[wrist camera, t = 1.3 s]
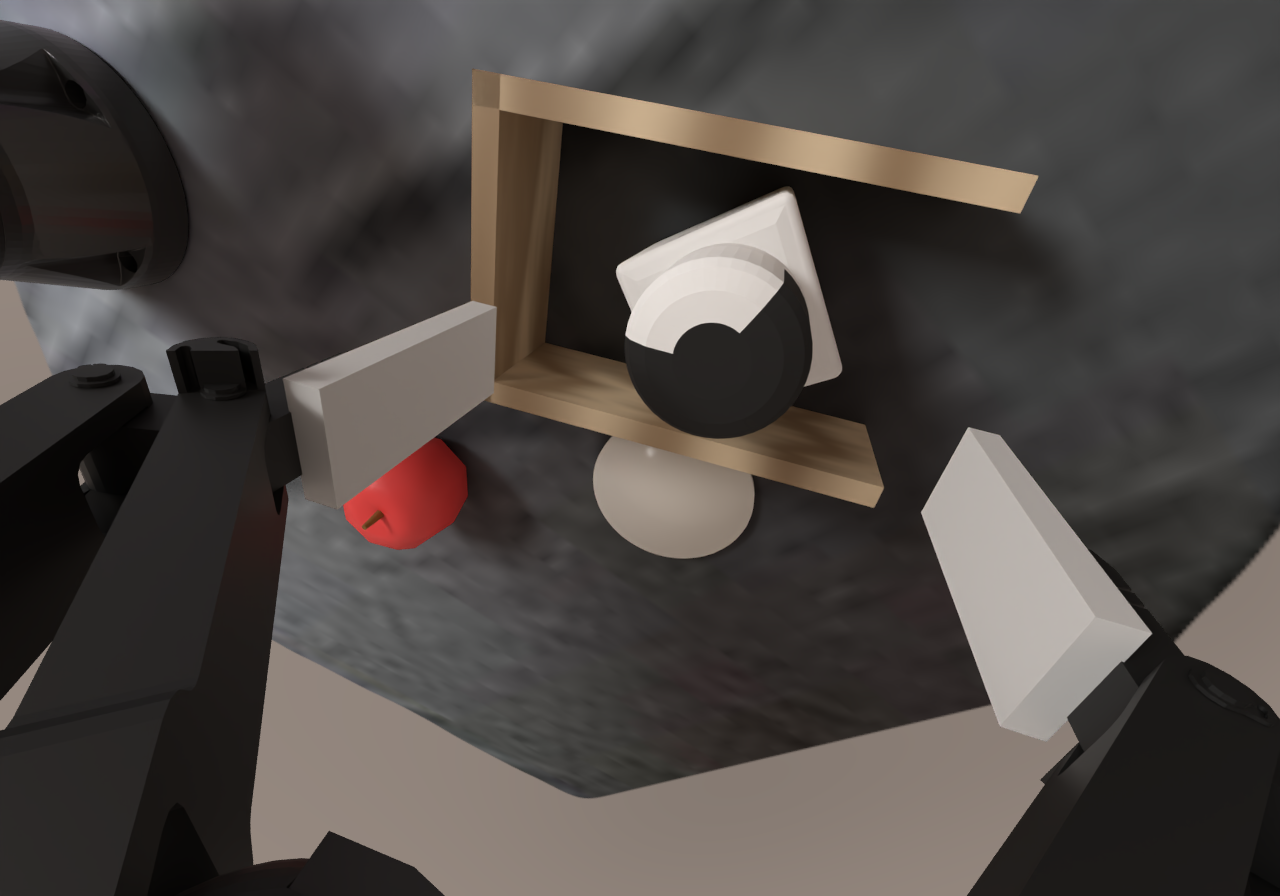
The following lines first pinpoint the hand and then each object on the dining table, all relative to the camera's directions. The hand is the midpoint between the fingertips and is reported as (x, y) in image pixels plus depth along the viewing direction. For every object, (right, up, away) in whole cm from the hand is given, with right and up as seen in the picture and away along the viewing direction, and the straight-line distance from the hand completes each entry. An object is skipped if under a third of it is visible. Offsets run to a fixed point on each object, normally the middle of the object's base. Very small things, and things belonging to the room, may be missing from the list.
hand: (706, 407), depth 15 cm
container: (+4, +8, +14) cm, 17 cm away
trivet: (0, -4, +21) cm, 22 cm away
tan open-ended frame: (+3, +8, +14) cm, 16 cm away
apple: (-17, -2, +26) cm, 31 cm away
